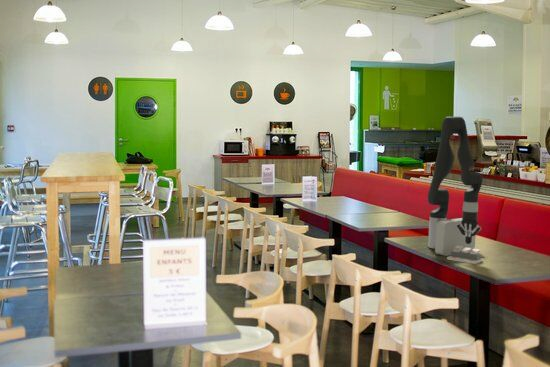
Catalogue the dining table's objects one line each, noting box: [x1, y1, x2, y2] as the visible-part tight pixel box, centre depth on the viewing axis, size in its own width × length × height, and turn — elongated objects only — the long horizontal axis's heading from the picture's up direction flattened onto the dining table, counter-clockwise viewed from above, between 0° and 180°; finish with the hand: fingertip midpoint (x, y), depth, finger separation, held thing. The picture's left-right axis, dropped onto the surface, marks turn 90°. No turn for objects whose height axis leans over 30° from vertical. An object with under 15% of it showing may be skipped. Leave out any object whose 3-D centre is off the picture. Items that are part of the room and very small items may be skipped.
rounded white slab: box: [434, 217, 476, 257], centre depth 364 cm, size 29×8×18 cm, turn 129°
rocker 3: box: [470, 248, 481, 254], centre depth 343 cm, size 5×3×1 cm, turn 142°
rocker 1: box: [453, 246, 463, 252], centre depth 348 cm, size 5×3×1 cm, turn 142°
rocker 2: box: [462, 247, 471, 253], centre depth 346 cm, size 5×3×1 cm, turn 142°
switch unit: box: [446, 251, 484, 265], centre depth 345 cm, size 10×15×4 cm, turn 52°
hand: (468, 243), depth 347 cm, fingers closed
